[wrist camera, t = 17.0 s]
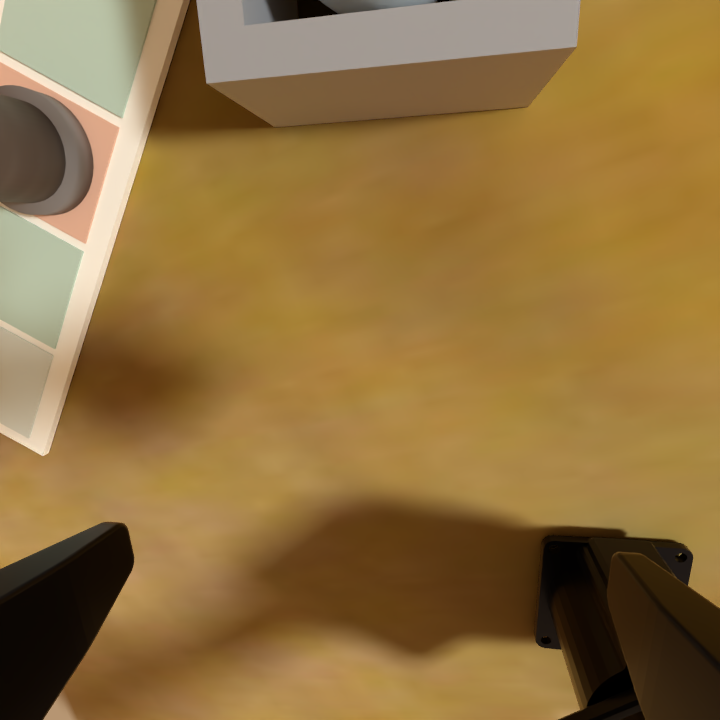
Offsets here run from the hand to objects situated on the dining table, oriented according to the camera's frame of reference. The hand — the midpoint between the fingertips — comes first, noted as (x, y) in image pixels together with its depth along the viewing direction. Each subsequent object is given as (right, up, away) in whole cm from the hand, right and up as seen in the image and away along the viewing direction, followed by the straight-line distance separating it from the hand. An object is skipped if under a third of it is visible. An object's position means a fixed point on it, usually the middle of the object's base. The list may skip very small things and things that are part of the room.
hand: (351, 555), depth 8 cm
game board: (-15, +10, +13) cm, 23 cm away
